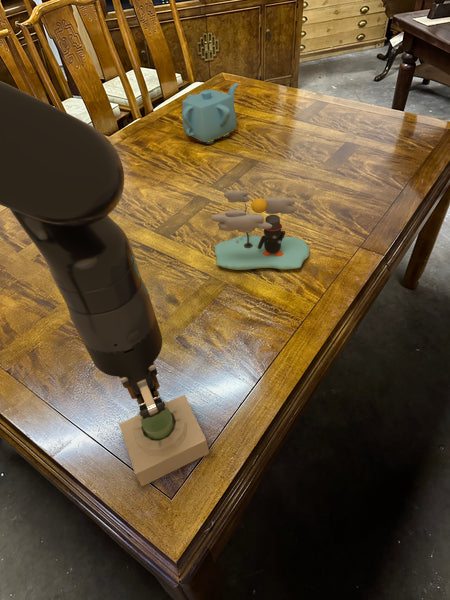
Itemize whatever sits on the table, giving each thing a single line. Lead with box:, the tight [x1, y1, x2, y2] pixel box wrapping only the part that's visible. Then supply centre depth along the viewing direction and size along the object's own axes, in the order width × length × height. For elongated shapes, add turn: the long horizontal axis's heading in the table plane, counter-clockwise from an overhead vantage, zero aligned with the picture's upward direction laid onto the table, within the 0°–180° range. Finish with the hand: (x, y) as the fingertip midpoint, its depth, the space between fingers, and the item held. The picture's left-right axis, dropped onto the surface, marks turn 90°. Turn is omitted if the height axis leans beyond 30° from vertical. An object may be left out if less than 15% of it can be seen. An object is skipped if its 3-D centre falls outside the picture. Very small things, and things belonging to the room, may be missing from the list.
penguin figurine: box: [210, 190, 311, 271], centre depth 83 cm, size 20×11×15 cm, turn 81°
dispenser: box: [118, 394, 210, 487], centre depth 58 cm, size 10×8×6 cm
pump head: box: [141, 406, 174, 440], centre depth 55 cm, size 4×4×2 cm
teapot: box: [181, 83, 240, 145], centre depth 129 cm, size 18×16×14 cm
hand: (153, 410), depth 53 cm, fingers closed
